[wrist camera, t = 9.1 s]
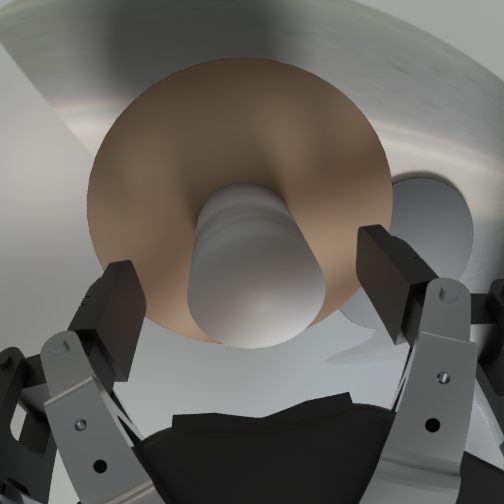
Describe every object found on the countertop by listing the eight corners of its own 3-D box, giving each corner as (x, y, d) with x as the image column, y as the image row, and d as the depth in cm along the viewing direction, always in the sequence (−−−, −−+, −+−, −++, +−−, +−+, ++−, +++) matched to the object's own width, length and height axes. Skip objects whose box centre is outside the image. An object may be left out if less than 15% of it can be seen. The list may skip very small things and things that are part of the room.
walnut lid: (418, 237, 15) (482, 300, 10) (223, 364, 19) (228, 447, 13) (275, 2, 9) (316, -58, 4) (45, 206, 12) (-25, 270, 7)
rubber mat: (479, 267, 29) (482, 270, 29) (368, 347, 33) (369, 350, 33) (445, 143, 22) (449, 145, 21) (293, 250, 26) (295, 253, 25)
